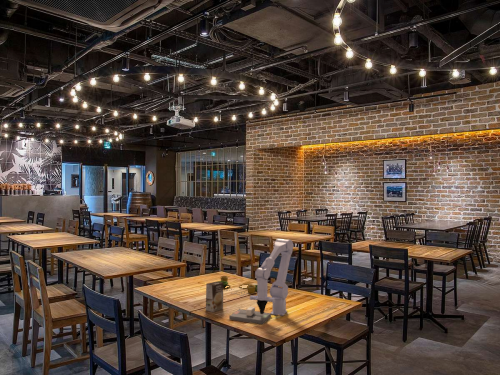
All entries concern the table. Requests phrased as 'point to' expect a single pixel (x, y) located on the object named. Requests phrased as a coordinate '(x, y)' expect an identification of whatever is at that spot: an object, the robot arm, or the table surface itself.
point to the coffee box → (214, 296)
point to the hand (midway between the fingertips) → (262, 313)
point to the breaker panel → (250, 317)
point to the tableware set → (250, 287)
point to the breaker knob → (250, 311)
